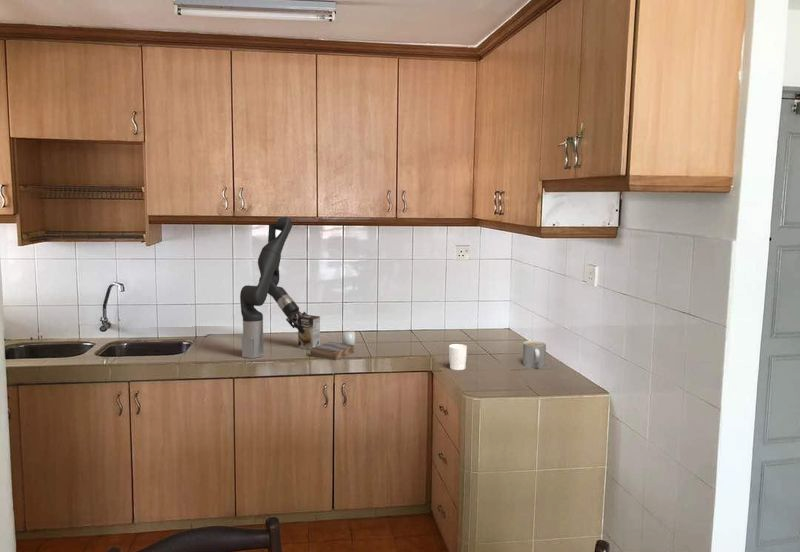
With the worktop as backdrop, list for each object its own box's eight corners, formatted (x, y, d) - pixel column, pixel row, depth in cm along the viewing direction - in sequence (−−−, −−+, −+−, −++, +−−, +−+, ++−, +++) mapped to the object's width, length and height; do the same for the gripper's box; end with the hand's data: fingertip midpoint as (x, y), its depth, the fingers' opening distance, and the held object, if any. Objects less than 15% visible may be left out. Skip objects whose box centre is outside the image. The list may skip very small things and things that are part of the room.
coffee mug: (523, 361, 298) (523, 340, 297) (545, 362, 296) (545, 341, 294) (522, 369, 285) (522, 347, 284) (545, 370, 283) (546, 348, 282)
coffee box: (297, 348, 319) (297, 316, 317) (305, 345, 325) (305, 314, 322) (312, 350, 315) (312, 318, 313) (320, 347, 320) (320, 315, 318)
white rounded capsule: (351, 350, 317) (351, 334, 316) (340, 348, 319) (340, 332, 318) (357, 347, 322) (357, 331, 321) (347, 346, 325) (347, 330, 324)
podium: (335, 360, 297) (335, 351, 297) (310, 356, 304) (310, 348, 303) (353, 352, 311) (353, 344, 311) (329, 349, 318) (329, 341, 317)
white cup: (445, 366, 288) (445, 344, 286) (461, 365, 291) (461, 343, 289) (454, 371, 280) (454, 348, 279) (469, 369, 284) (470, 347, 282)
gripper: (283, 303, 315) (303, 329, 311) (300, 298, 328) (320, 324, 324) (274, 312, 318) (294, 338, 314) (292, 308, 331) (311, 333, 327)
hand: (307, 331), depth 319 cm, fingers closed on coffee box, 6 cm apart
